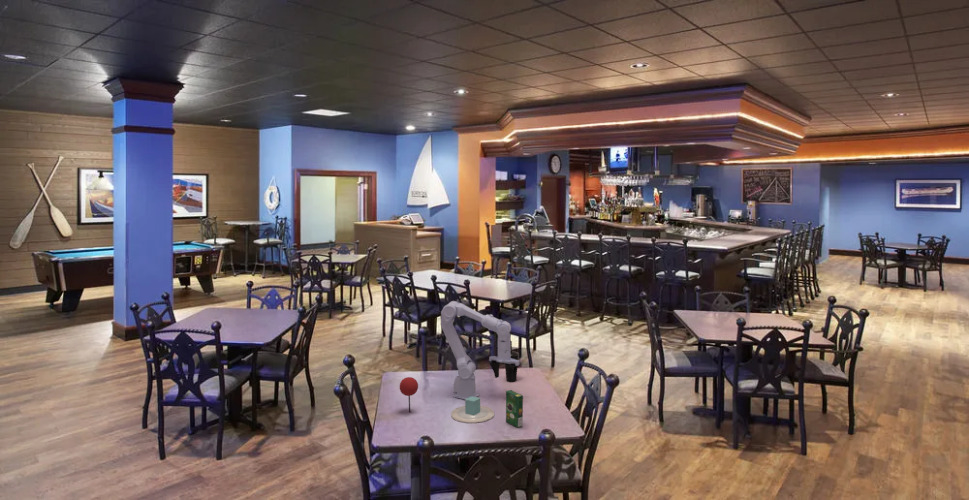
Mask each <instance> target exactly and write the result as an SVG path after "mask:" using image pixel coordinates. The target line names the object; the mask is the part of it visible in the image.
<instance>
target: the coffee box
mask: <svg viewBox="0 0 969 500" xmlns="http://www.w3.org/2000/svg"><path fill="white" fill-rule="evenodd" d="M505 392H506V393H505V422H506V423H507V424H510V425H512V426H513V427H515V428H517V429H519V428H522V427H523V421H524V420H523V416H524V415H523V413H524V411H523V410H524V409H523V408H524V395H522V394H520V393H519V392H517V391H514V390H512V389H508V390H506V391H505Z"/></svg>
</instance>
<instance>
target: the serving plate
mask: <svg viewBox="0 0 969 500" xmlns="http://www.w3.org/2000/svg"><path fill="white" fill-rule="evenodd" d="M450 417H451V418H452V419H453V421H457V422H460V423H462V424H463V423H464V424H479V423H478V422H481V423H485V422H488V421H490V420H492V419H493V418H494V417H495V412H494V410H493V409H492V408H490V407H488V406H484V405H480V413H478V414H476V415H470V414H466V413H465V405H462V406H458V407H456V408H454V409H453V410H452V411H451V413H450ZM484 421H485V422H484Z"/></svg>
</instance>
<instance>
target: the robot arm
mask: <svg viewBox="0 0 969 500" xmlns="http://www.w3.org/2000/svg"><path fill="white" fill-rule="evenodd" d="M440 314H441V316H440V326H441V329H442V332H443V334H444V335H445V338H446V341H447V342H448V344H449V347H450V348H451V351H452V353H453V356H454V358H455V360H456V368H457V369H458V370H457V374H458V375H457V376H456V377H455V378H454V380H453V395H452V397H453V398H455V399H456V398H457V399H461V400H465V399H467V398H469V397H471V396H472V397H477V398H478V396H480V394H479V393H476V375H475V373H476V370H477V365H476V363H475V362H474V361H473V360H472V359H471V357H470V356H469V355H467V353H466V350H465V348H464V346H463V344H462V341H461V339H460V337H459V335H458V333H457V330H456V328H455V326H454V322H455V318H456V317H457V318H458V317H461V316H462V317H463V316H466V317H467V318H470V319H472V320H474V321H477V322H479V323H481V326H482V327H484V328H486V329H488V330H490V331H493V332H495V333H496V334H497V356H495V355H490V356H488V357H489V359H488V362H490V363H489V365H490V366H491V369H492V371H493V374H494V378H495V379H497V378H499V377H500V366H501V364H500V363H502V364H505V363H507V364H511V365H509V366H508V368H509V373H510V381H512V380H513V379H514V375H515V372H516V369H517V370H518V367H519V365H520V360H519V359H518V360H515V359H512V358H511V356H510V341H511V330H512V326H511V323H509V322H508V321H506V320H503V319H499V318H497V317H494V315H493V314H491V313H490V314H486V315H485V314H482V313H480V312H478V311H477V310H474V309H473V308H471V307H469V306H467V305H466V304H464V303H461V302H458V301H456V300H452V301H449V302H448V303H447V304H446V305H444V306H443V308H442V310H441V311H440Z"/></svg>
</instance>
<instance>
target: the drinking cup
mask: <svg viewBox="0 0 969 500" xmlns="http://www.w3.org/2000/svg"><path fill="white" fill-rule="evenodd" d="M512 342H513V341H512V340H510V356H511V358H512V359H515V360H519V355H520V353H519V352H518V351H514V350H513V348H512V347H513V343H512ZM509 365H511V364H507V363H504V368H505V378H506V382H508V383H515V382H517V377H518V376H517V375H518V368H517V369H516V372H515V375H514V379H513V380H512V381H510V373H509V368H508V366H509Z"/></svg>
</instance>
